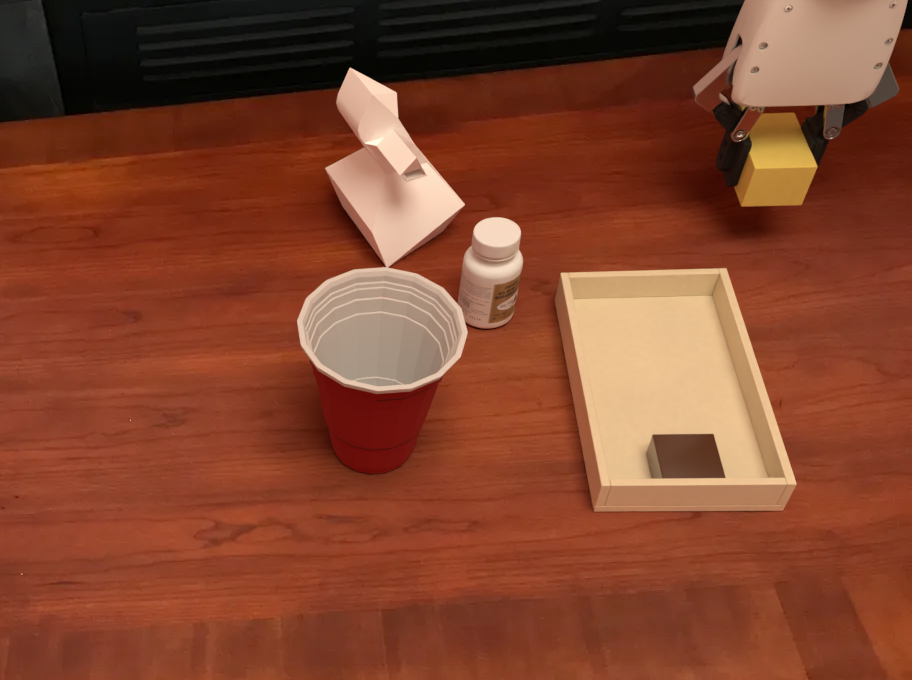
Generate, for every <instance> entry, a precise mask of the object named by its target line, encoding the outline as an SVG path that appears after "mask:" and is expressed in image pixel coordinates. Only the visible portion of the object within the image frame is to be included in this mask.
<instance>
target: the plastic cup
mask: <svg viewBox="0 0 912 680" xmlns="http://www.w3.org/2000/svg"><path fill="white" fill-rule="evenodd" d="M296 323H297V330H298V336H299V343H300V347H301V350H302V351H303V352H304V354H305V356H306V357H307V358H308V359H309V364H310V365H311V369H312V373H313V376H315V380H316V381H315V382H316V385H317V390H318V394H319V398H320V404H321V407H322V408H321V409H322V412H323V417H324V421H325V425H326V426H327V428H328V433H329V437H330V442H331V447H332V449H333V452H334V454H335V455H336V457H337V458H338V459H339V460H340V462H341V463H342V464H343V465H344V466H346V467H348V468H350V470H353V471H354V472H358V473H362V474H366V475H367V474H368V475H378V474H386V473H389V472H391V471H394V470H396V469H398V468H400V467H402V465H404V463H405V462H406V461H408V459H409V458H410V456H411V455H412V453H413V452H414V450H415V446H416V442H417V440H418V436H419V435H420V432H421V430H422V429H423V427H424V424H425V421H426V420H427V419H426V418H427V416H428V414H429V410H430V408H431V406H432V403H433V400H434V397H435V395H436V392H437V390H438V387H439V384H440V383H441V382H442V380H443V378H444V375H445V374H446V373H447V372H448V371H450V369H451V368H452V367H453V366H454V365H455V364H456V363H457V362H458V361H459V360H460V359H461V357H462V354H463V350H464V347H465V344H466V340H467V337H468V334H469V331H468V328H467V323H466V322H465V320H464V316H463V312H462V309H461V307H460V306H459V305H458V302H457V301H456V300H455V299H454V298H453V297H452V296H451V294H449V292H448V291H447V290H446V289H445V287H443V286H442V285H439V284H437V283H436V282H433V281H431V280H430V279H428V278H426V277H424V276H423V275H421V274H419V273H416V272H411V271H407V270H402V269H397V268H391V267H388V268H387V267H386V266H382V267H381V266H380V267H367V268H357V269H355V268H354V269H352V270H349V271H346V272H344V273H341V274H339V275H335V276H333V277H330V278H328V279H326V280H325V281H324V282H322V283H321V284H320V285H319V286H317V287H316V289H314V290H313V291H312V292H311V293H310V294H309V295H307V297H306V298H305V299H304V301H303V305H302V308H301V309H300V312H299V315H298V317H297V320H296Z"/></svg>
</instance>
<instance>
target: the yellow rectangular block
mask: <svg viewBox="0 0 912 680" xmlns="http://www.w3.org/2000/svg"><path fill="white" fill-rule="evenodd" d="M749 136H750V139H751V141H752V147H751V150H750V152H749V154H748V156H747V159H746V162H745V165H744V167H743V170H742V173H741V176H740V179H739V181H738V184H737V185H736V186H735V187H733V188H734V191H735V194H736V196H737V200H738V202H739V205H740V207H741V208H742V207H743V208H745V207H786V206H789V207H790V206H792V207H793V206H802V205H803V203H804V200H805V198H806V197H807V196H806V195H807V194H808V191H809V189H810V186H811V184H812V181H813V180H814V177H815V175H816V172H817V169H818V168H819V166H817V164H816V162H815V159H814V157H813V155H812V152H811V151H810V148H809V146H808V144H807V141H806V139H805V137H804V134H803V132H802V130H801V125H800V122H799V120H798V117H797V115H796V113H795V112H773V113H772V112H770V113H769V112H768V113H767V112H765V113H762V115H761V116H760V118H759V119H758V121H757V123H756V124H755V126H754V127H753V129H752V130H751V132H750V134H749Z"/></svg>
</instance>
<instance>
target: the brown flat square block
mask: <svg viewBox="0 0 912 680" xmlns="http://www.w3.org/2000/svg"><path fill="white" fill-rule="evenodd" d="M646 455H647V460H648V464H649V469H650V473H651V478H652V479H669V478H726V477H725V473H724V470H723V466H722V462H721V459H720V455H719V452H718V448H717V444H716V441H715V437H714V434H653V435H652V438H651V441H650V443H649V446H648V449H647V452H646Z"/></svg>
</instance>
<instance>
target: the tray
mask: <svg viewBox="0 0 912 680" xmlns="http://www.w3.org/2000/svg"><path fill="white" fill-rule="evenodd" d="M554 304H555V310H556V315H557V321H558V327H559V332H560V337H561V342H562V348H563V354H564V360H565V364H566V370H567V376H568V379H569V381H568V382H569V386H570V391H571V397H572V402H573V408H574V412H575V418H576V424H577V429H578V434H579V439H580V444H581V445H580V446H581V451H582V456H583V462H584V466H585V472H586V477H587V483H588V489H589V495H590V500H591V506H592V511H593V512H594V513H602V512H605V513H609V512H612V513H613V512H614V513H615V512H617V513H618V512H619V513H620V512H621V513H622V512H623V513H624V512H783V511H784V510H785V508H786V506H787V504H788V502H789V500H790V498H791V497H792V495H793V492H794V490H795V489H796V487H797V481H796V477H795V473H794V471H793V468H792V466H791V462H790V458H789V455H788V453H787V450H786V447H785V444H784V440H783V437H782V434H781V431H780V428H779V424H778V422H777V419H776V416H775V413H774V409H773V406H772V403H771V400H770V397H769V395H768V392H767V387H766V385H765V382H764V379H763V376H762V373H761V370H760V367H759V364H758V361H757V358H756V354H755V351H754V347H753V345H752V342H751V339H750V336H749V333H748V330H747V327H746V323H745V321H744V318H743V315H742V311H741V308H740V305H739V302H738V298H737V296H736V293H735V290H734V287H733V284H732V280H731V277H730V275H729V271H728V269H727V267H719V268H716V267H715V268H684V269H683V268H680V269H648V270H647V269H645V270H643V269H642V270H611V271H576V272H575V271H572V272H560V274H559V278H558V283H557V287H556V292H555V297H554ZM653 434H714V437H715V441H716V444H717V448H718V452H719V455H720V459H721V462H722V466H723V470H724V473H725V477H726V478H669V479H652V478H651V473H650V469H649V464H648V460H647V455H646V452H647V449H648V446H649V443H650V441H651V438H652V435H653Z"/></svg>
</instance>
